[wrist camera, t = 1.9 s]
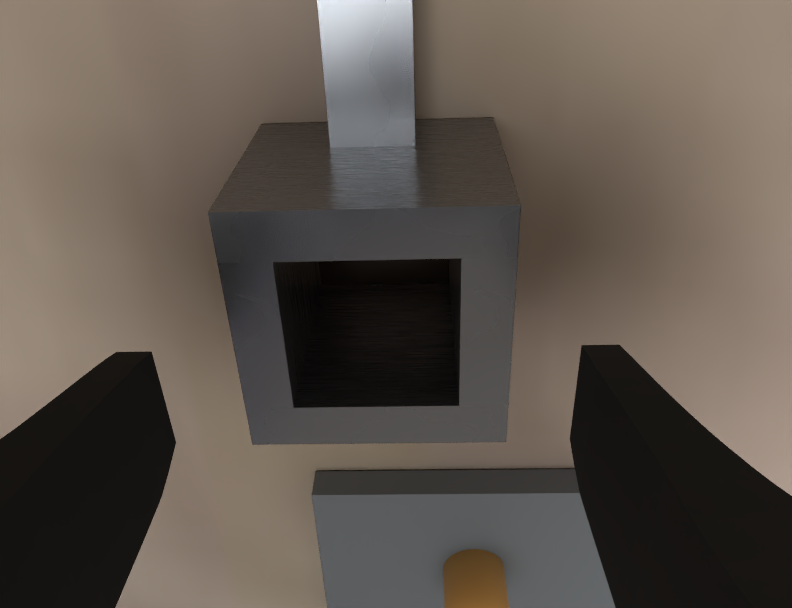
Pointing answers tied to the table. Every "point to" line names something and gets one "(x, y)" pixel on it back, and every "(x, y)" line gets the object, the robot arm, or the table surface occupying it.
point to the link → (370, 256)
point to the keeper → (456, 540)
